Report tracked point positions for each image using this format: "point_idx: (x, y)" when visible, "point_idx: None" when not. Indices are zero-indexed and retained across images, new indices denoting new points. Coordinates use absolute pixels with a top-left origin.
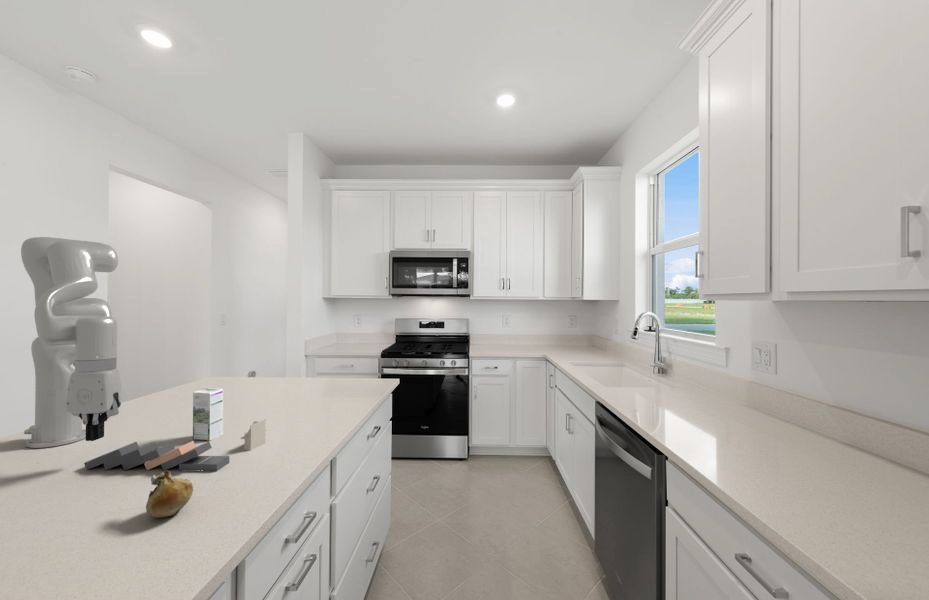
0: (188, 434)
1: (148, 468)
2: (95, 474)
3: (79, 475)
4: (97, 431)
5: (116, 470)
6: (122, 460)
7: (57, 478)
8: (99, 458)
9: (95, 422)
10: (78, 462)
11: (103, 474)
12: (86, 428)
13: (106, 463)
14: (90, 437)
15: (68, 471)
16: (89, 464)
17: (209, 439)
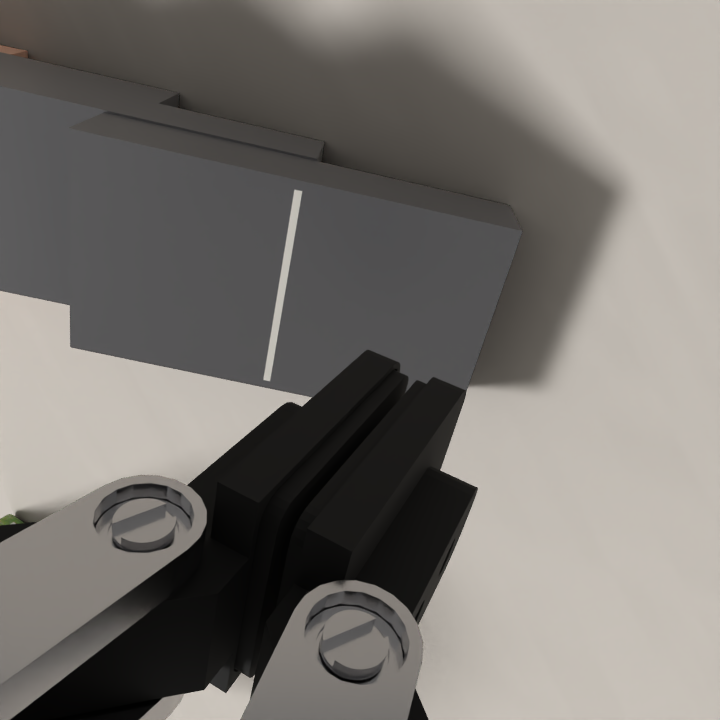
0: (188, 699)
1: (6, 49)
2: (358, 48)
3: (498, 53)
4: (259, 439)
5: (240, 113)
6: (128, 104)
7: (704, 5)
8: (334, 185)
9: (137, 516)
10: (705, 458)
11: (289, 31)
12: (372, 499)
13: (288, 148)
14: (371, 379)
15: (683, 213)
16: (466, 208)
17: (3, 517)
